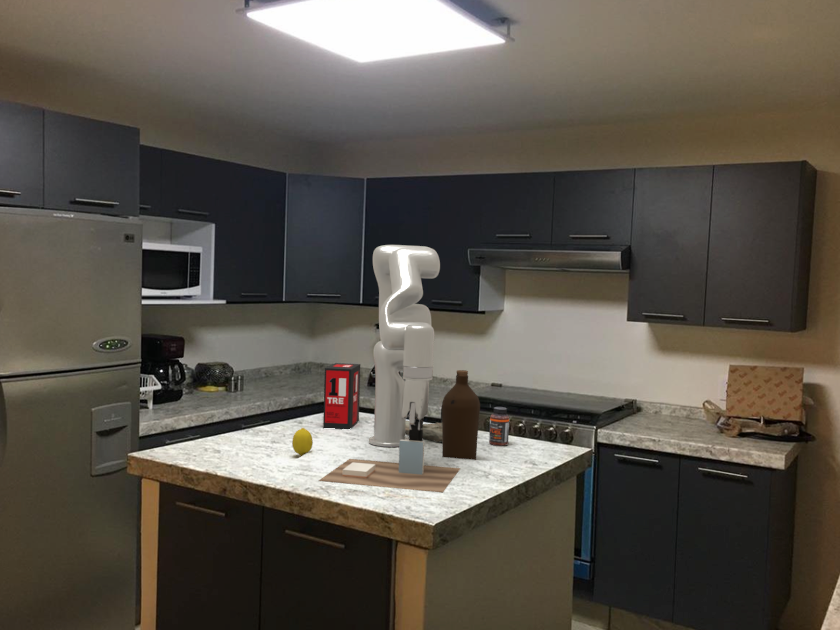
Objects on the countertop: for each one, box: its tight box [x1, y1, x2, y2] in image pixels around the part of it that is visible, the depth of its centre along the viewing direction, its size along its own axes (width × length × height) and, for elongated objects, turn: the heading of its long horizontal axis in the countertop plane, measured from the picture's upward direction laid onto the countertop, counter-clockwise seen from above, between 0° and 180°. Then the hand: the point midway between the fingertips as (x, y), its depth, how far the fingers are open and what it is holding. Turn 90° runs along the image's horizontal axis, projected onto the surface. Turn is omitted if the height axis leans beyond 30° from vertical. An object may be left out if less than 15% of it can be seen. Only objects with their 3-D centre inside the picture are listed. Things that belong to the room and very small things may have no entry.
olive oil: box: [441, 369, 481, 461], centre depth 214 cm, size 11×11×25 cm
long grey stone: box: [405, 420, 443, 443], centre depth 248 cm, size 35×5×10 cm
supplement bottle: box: [488, 406, 510, 447], centre depth 237 cm, size 6×6×11 cm
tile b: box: [398, 440, 425, 475], centre depth 192 cm, size 2×6×8 cm, turn 77°
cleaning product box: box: [322, 362, 361, 430], centre depth 261 cm, size 16×9×20 cm, turn 174°
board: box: [318, 458, 461, 498], centre depth 190 cm, size 24×30×2 cm
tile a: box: [343, 462, 376, 478], centre depth 190 cm, size 2×6×8 cm
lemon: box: [291, 427, 314, 457], centre depth 212 cm, size 6×6×8 cm
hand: (415, 444), depth 195 cm, fingers closed
